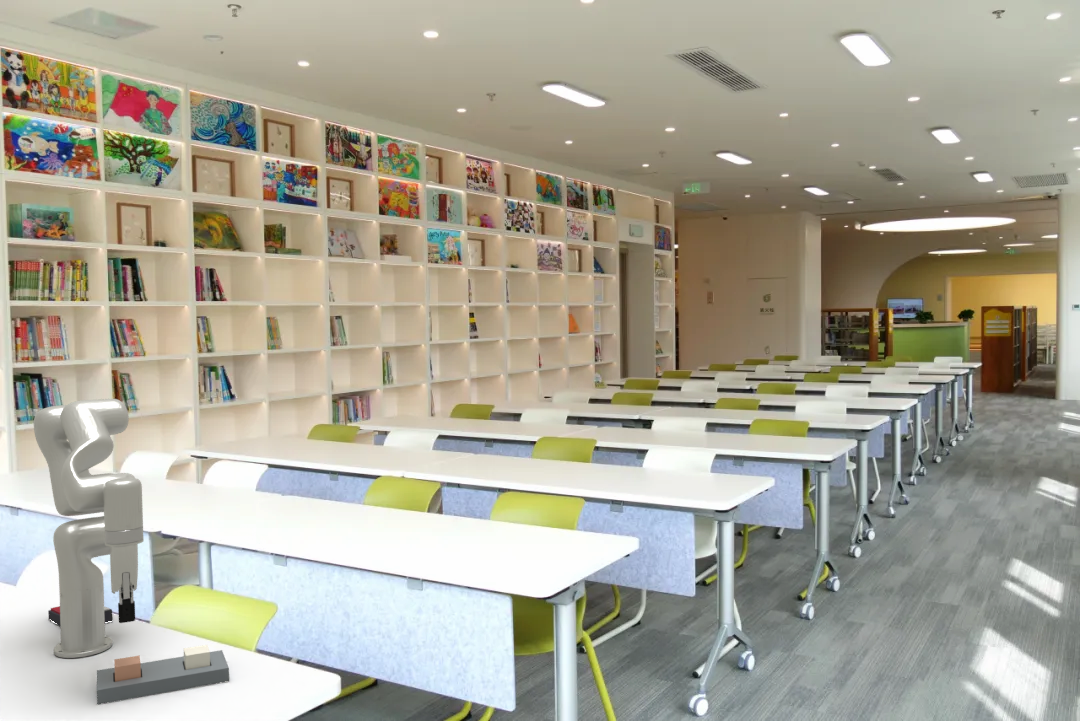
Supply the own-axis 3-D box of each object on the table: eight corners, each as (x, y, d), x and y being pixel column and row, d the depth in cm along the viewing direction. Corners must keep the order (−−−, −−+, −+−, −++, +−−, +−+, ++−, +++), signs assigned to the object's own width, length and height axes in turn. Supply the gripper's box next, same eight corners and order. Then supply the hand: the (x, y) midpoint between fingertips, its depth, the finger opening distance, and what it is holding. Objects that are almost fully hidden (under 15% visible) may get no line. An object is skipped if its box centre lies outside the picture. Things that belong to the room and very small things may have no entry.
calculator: (90, 598, 245) (112, 606, 235) (91, 613, 245) (113, 622, 235) (47, 607, 237) (68, 616, 227) (48, 623, 237) (69, 633, 227)
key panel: (97, 683, 194) (96, 670, 194) (222, 662, 205) (222, 650, 205) (96, 704, 183) (96, 690, 183) (229, 681, 195) (228, 667, 194)
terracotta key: (114, 677, 192) (114, 659, 192) (140, 673, 194) (139, 655, 194) (115, 685, 188) (114, 667, 187) (141, 681, 190) (140, 663, 190)
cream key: (184, 666, 198) (183, 648, 198) (207, 662, 201) (207, 644, 200) (186, 673, 194) (185, 655, 194) (210, 669, 196) (209, 651, 196)
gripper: (104, 531, 195) (107, 614, 195) (104, 545, 181) (107, 634, 182) (141, 527, 198) (144, 609, 198) (144, 540, 185) (147, 628, 185)
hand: (127, 620), depth 190 cm, fingers closed
